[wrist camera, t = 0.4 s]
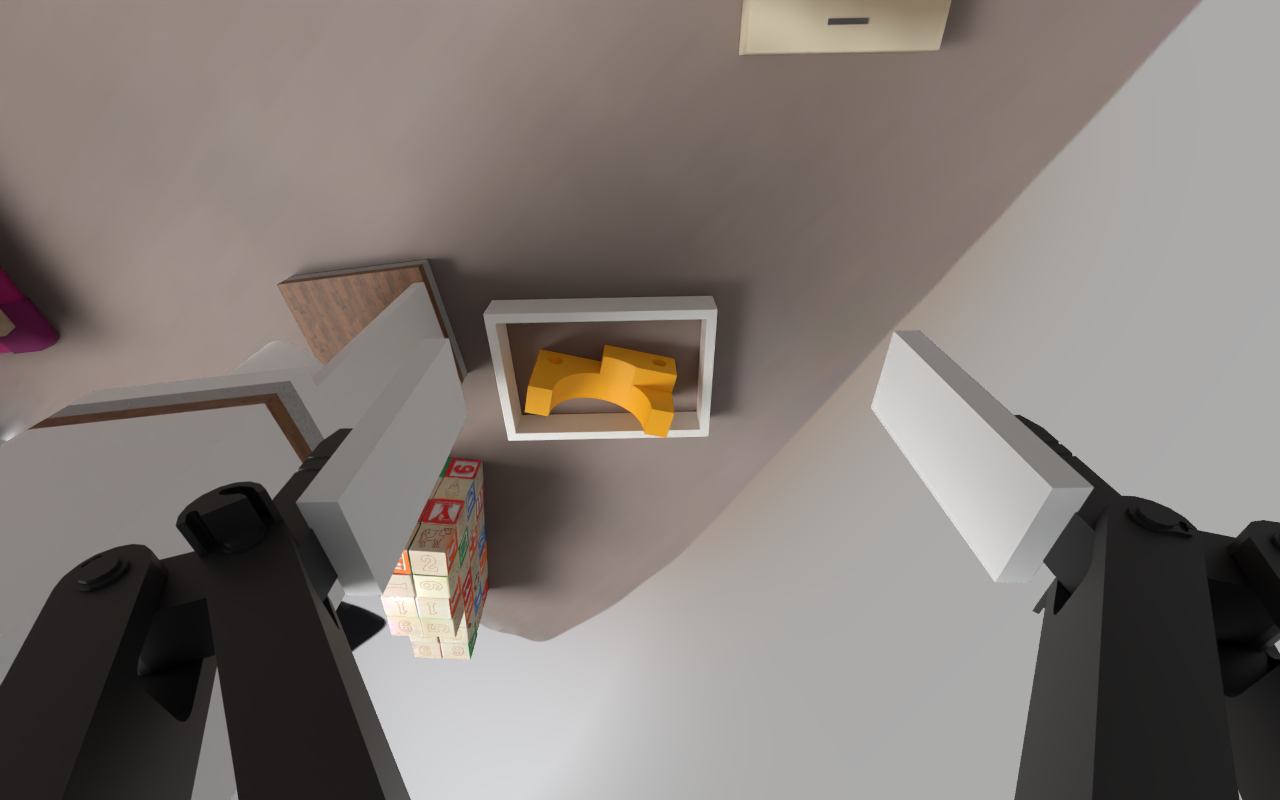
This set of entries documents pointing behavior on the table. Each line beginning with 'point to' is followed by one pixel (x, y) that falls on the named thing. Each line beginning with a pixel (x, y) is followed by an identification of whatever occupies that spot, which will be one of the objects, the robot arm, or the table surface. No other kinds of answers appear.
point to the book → (21, 321)
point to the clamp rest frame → (587, 312)
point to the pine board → (841, 26)
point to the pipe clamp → (607, 384)
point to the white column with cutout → (202, 448)
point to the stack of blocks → (443, 568)
